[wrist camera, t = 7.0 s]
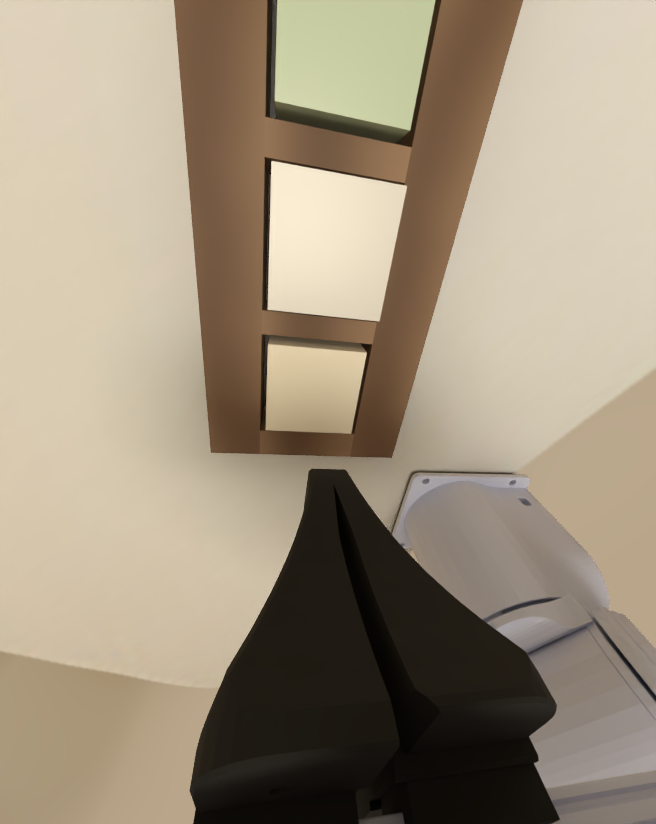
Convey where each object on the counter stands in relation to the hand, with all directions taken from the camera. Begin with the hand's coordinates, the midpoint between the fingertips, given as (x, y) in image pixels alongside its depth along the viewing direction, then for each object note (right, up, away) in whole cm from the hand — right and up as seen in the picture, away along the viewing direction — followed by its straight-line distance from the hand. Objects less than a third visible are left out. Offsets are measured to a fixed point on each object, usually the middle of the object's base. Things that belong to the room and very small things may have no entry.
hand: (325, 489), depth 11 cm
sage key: (+1, +15, -1) cm, 15 cm away
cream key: (-1, +5, +5) cm, 7 cm away
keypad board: (0, +10, +3) cm, 11 cm away
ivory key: (0, +10, +2) cm, 10 cm away
